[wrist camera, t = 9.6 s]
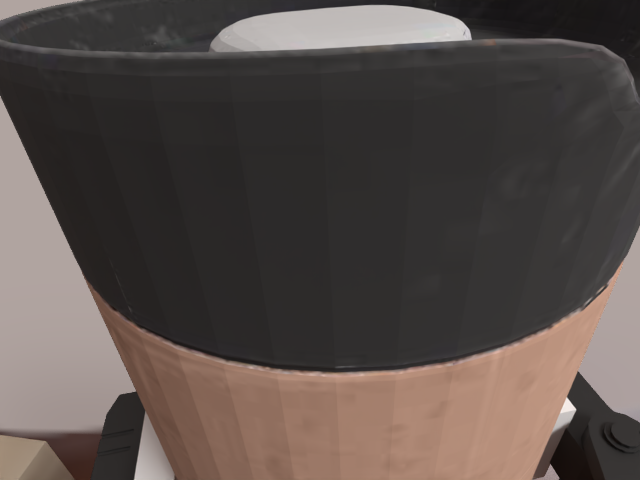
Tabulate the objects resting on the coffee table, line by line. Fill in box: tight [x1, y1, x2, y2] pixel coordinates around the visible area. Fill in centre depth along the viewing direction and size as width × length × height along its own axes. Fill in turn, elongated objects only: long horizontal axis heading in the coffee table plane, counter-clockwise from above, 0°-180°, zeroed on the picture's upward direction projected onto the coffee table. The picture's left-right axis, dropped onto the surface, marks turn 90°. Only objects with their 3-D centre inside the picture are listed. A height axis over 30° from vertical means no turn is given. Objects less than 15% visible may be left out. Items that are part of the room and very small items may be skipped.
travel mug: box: [0, 0, 640, 480], centre depth 11 cm, size 8×8×20 cm
